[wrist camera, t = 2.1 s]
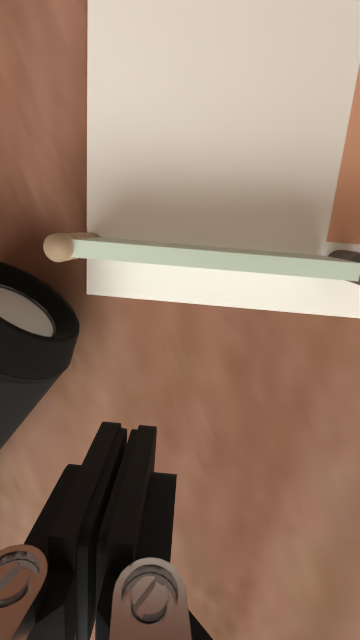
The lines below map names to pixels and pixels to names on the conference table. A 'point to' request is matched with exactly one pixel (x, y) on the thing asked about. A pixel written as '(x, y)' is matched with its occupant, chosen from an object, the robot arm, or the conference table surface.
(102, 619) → the robot arm
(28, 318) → the portable speaker
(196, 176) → the card
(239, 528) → the conference table surface
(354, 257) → the fixed fence section
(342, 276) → the folding fence panel
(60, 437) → the conference table surface
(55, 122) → the conference table surface
